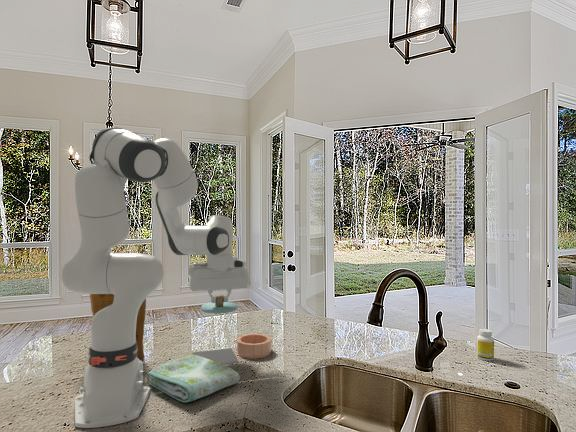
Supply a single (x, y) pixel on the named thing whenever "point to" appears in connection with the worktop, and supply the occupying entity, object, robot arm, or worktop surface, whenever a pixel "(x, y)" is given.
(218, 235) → the robot arm
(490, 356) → the supplement bottle
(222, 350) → the mat
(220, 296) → the lid
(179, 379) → the towel
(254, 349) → the bowl
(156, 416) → the worktop surface
